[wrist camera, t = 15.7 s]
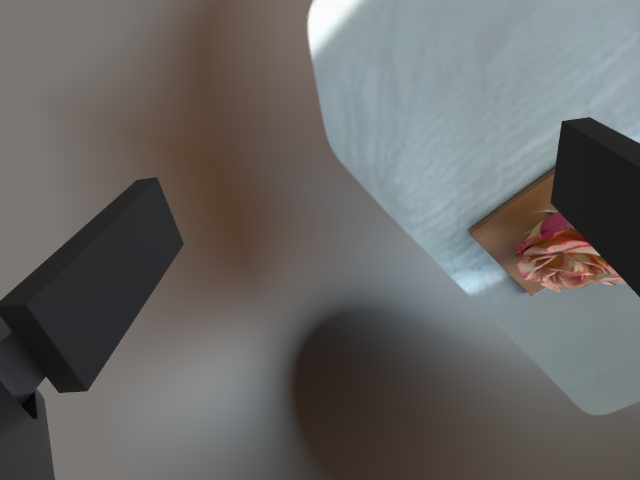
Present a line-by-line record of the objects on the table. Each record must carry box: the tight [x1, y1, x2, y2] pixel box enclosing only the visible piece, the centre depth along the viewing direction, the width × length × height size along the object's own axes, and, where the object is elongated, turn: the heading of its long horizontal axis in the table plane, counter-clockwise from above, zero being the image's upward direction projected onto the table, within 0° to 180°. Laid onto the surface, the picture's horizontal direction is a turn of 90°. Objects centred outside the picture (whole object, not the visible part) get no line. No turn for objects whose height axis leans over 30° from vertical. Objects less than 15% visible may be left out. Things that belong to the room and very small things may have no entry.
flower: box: [515, 209, 627, 291], centre depth 37 cm, size 10×9×8 cm
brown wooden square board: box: [469, 168, 558, 296], centre depth 40 cm, size 11×11×1 cm
